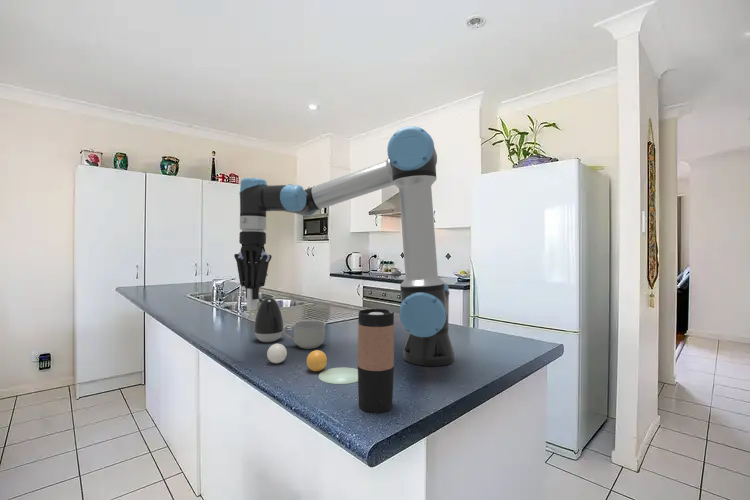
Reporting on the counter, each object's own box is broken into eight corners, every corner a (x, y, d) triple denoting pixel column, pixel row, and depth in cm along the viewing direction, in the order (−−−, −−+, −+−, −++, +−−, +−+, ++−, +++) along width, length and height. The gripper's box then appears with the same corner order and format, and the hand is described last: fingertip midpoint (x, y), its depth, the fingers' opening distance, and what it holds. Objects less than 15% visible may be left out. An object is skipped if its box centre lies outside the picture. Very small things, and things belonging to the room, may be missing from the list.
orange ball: (330, 369, 102) (331, 349, 102) (319, 375, 97) (319, 354, 97) (314, 366, 105) (314, 346, 104) (302, 372, 100) (302, 351, 100)
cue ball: (290, 361, 108) (290, 342, 108) (277, 367, 104) (277, 347, 103) (276, 359, 111) (276, 340, 111) (262, 364, 106) (262, 344, 106)
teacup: (328, 343, 130) (329, 320, 130) (321, 351, 119) (321, 326, 119) (289, 341, 131) (290, 318, 131) (279, 350, 120) (279, 325, 120)
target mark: (372, 372, 100) (372, 371, 100) (349, 387, 89) (349, 386, 89) (335, 365, 105) (335, 364, 105) (309, 379, 95) (309, 378, 95)
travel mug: (351, 410, 77) (352, 313, 77) (365, 396, 84) (366, 307, 84) (386, 416, 74) (387, 316, 74) (398, 401, 81) (398, 310, 81)
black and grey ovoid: (270, 335, 140) (271, 295, 139) (289, 339, 133) (289, 297, 133) (247, 341, 131) (247, 298, 131) (266, 345, 125) (266, 300, 125)
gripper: (227, 230, 111) (226, 309, 111) (260, 230, 105) (259, 314, 105) (246, 231, 117) (245, 306, 118) (278, 231, 111) (277, 310, 112)
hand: (252, 310), depth 111 cm, fingers closed
